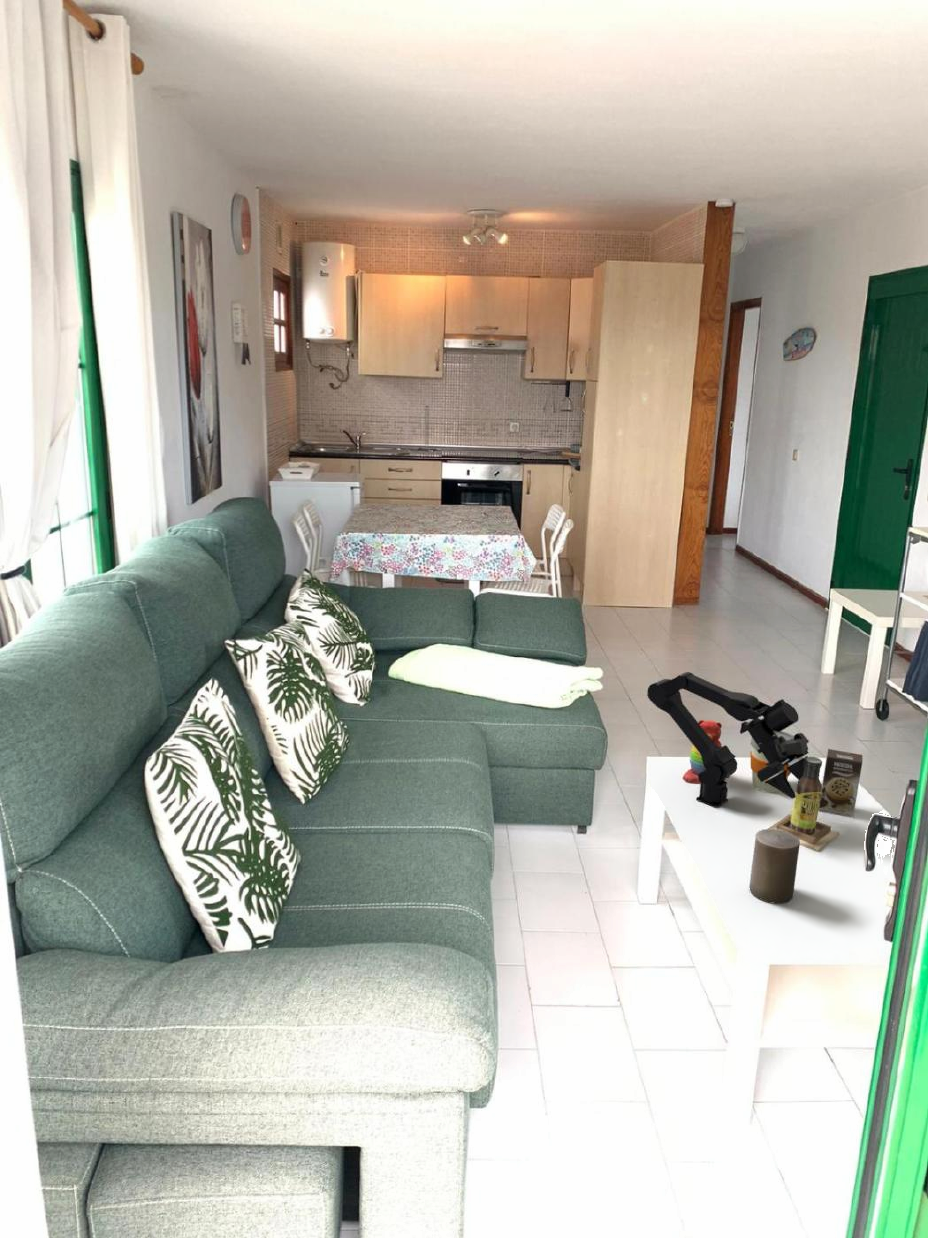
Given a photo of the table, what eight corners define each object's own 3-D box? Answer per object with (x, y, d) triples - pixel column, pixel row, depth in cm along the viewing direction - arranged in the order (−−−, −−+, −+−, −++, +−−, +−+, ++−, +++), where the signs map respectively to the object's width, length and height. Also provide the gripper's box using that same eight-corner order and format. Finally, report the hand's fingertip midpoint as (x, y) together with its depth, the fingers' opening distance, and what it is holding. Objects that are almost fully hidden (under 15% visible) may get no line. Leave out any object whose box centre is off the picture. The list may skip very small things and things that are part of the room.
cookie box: (818, 811, 261) (826, 756, 257) (819, 801, 267) (826, 747, 263) (854, 818, 258) (862, 762, 254) (854, 808, 264) (862, 753, 260)
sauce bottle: (797, 837, 245) (807, 765, 240) (784, 826, 251) (794, 755, 246) (820, 835, 246) (830, 763, 241) (806, 824, 252) (816, 753, 247)
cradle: (765, 831, 249) (766, 824, 248) (789, 816, 258) (790, 809, 257) (817, 851, 239) (818, 844, 239) (840, 834, 248) (841, 827, 248)
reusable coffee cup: (797, 796, 270) (804, 746, 266) (752, 794, 270) (758, 745, 266) (783, 777, 282) (790, 729, 278) (740, 776, 282) (746, 728, 278)
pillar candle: (795, 906, 215) (804, 845, 211) (750, 900, 216) (758, 840, 213) (789, 884, 224) (797, 825, 220) (746, 879, 226) (753, 820, 222)
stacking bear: (681, 781, 277) (686, 723, 272) (690, 768, 286) (696, 712, 281) (718, 790, 272) (725, 731, 268) (726, 777, 281) (733, 720, 276)
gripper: (774, 735, 239) (811, 790, 235) (806, 716, 252) (841, 768, 248) (741, 754, 246) (776, 808, 242) (773, 735, 260) (807, 786, 256)
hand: (801, 792), depth 247 cm, fingers open, 9 cm apart
